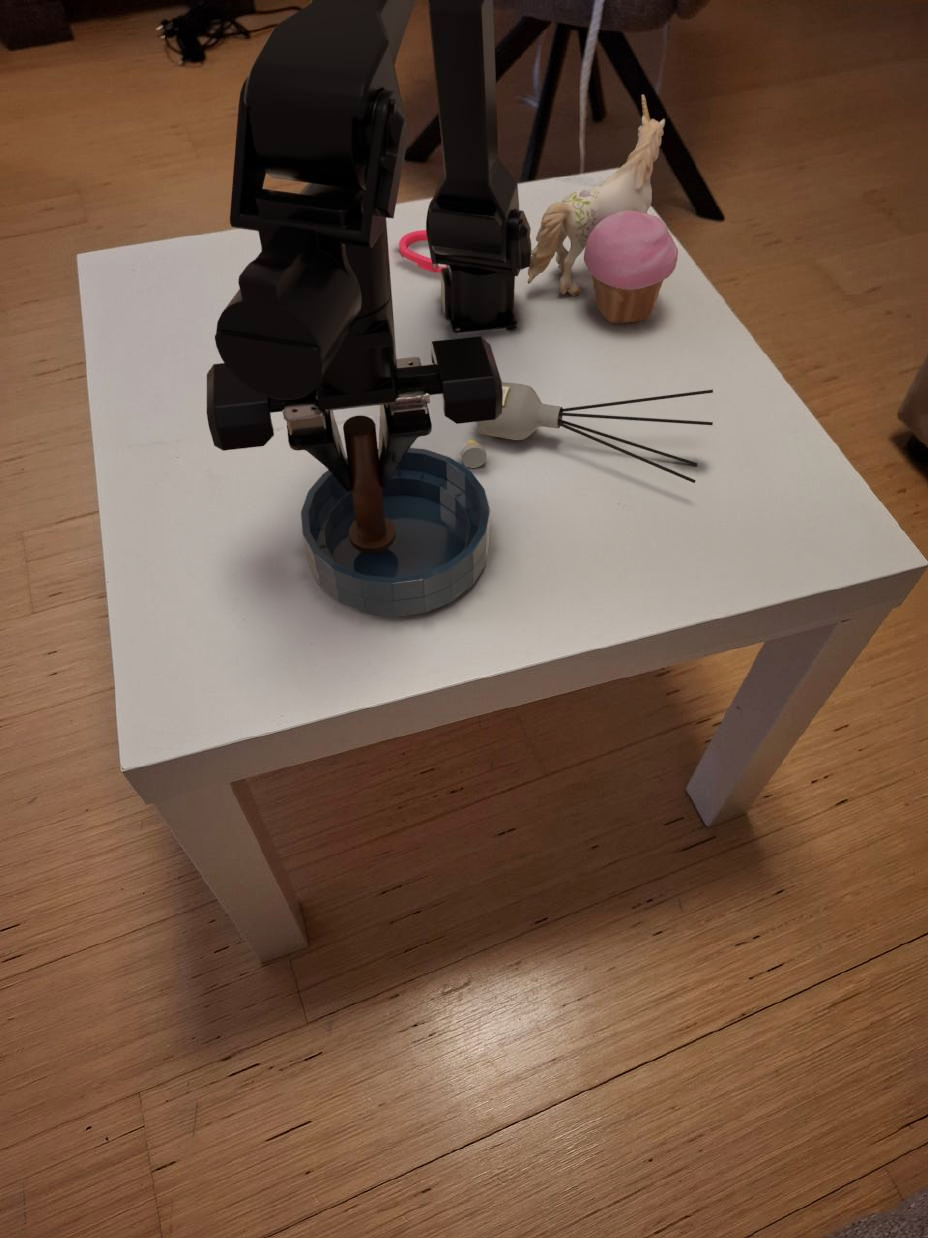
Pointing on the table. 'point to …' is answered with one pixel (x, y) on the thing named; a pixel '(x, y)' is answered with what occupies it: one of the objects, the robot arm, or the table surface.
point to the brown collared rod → (366, 487)
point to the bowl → (402, 538)
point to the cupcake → (629, 264)
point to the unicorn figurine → (597, 206)
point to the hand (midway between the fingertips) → (366, 484)
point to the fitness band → (414, 257)
